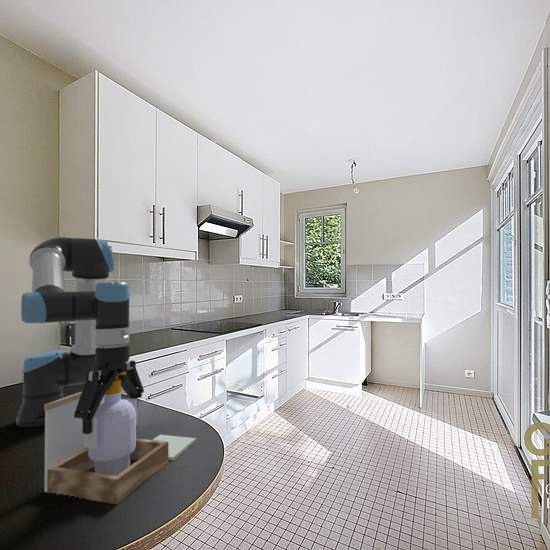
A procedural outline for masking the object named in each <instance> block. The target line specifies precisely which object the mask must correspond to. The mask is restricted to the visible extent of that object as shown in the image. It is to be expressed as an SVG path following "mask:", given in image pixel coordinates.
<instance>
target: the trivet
mask: <svg viewBox="0 0 550 550" xmlns="http://www.w3.org/2000/svg"><path fill="white" fill-rule="evenodd" d="M152 440H156V441H165V442H168V450H169V461H174V460H176V459H177V458H178V457H179V456H181V455H182V454H183V453H184V452H185V451H186V450H187V449H189V448H190V447H191V446H192V445H193V444H195V443H196V442H197V438H196V437H188V436H187V437H185V436H178V435H177V436H176V435H168V434H167V435H166V434H159V435H157V436H156V437H154V438H153V439H152ZM195 441H196V442H195Z"/></svg>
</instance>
